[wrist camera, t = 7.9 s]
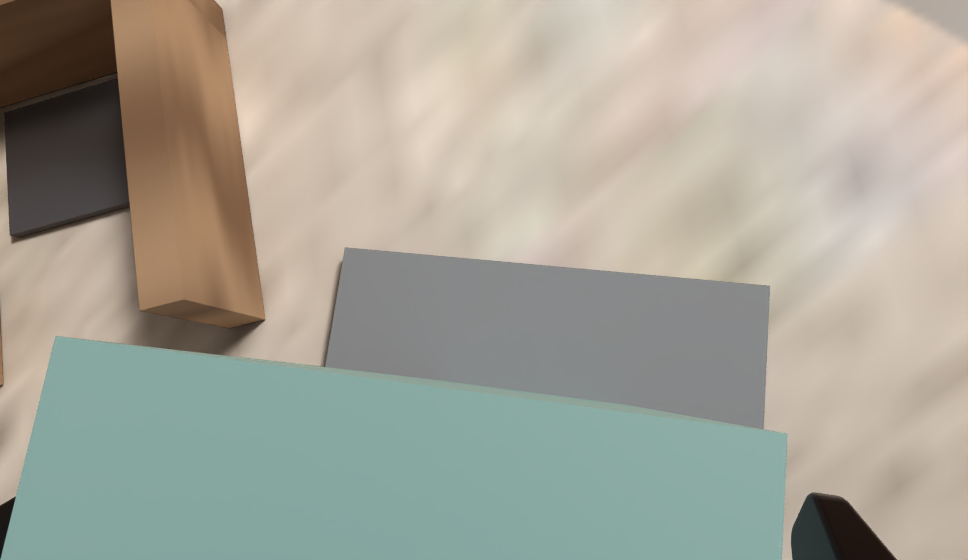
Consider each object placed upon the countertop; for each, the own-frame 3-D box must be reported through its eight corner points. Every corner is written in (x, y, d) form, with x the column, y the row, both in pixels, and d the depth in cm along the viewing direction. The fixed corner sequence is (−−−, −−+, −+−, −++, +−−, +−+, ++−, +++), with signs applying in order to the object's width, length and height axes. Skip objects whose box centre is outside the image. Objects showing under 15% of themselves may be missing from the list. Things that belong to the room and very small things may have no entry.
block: (607, 604, 15) (736, 1562, 3) (417, 569, 16) (-151, 1174, 4) (625, 404, 16) (786, 433, 4) (442, 380, 17) (55, 336, 4)
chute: (265, 319, 19) (183, 299, 15) (-30, 392, 20) (-177, 391, 16) (222, 8, 21) (142, -78, 17) (-39, 89, 22) (-169, 25, 18)
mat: (740, 775, 15) (747, 790, 14) (282, 673, 17) (272, 683, 16) (763, 289, 17) (770, 285, 16) (351, 251, 19) (344, 247, 18)
